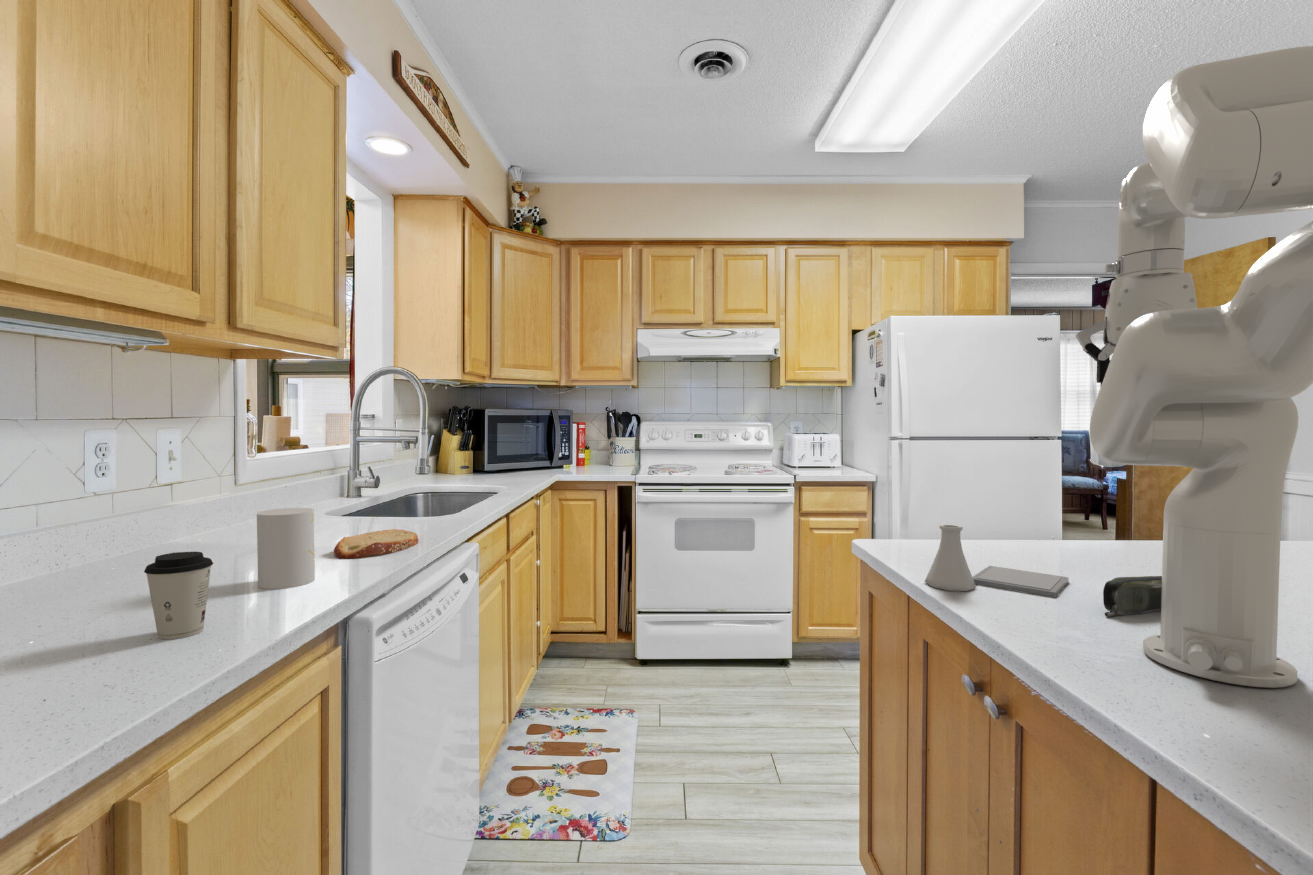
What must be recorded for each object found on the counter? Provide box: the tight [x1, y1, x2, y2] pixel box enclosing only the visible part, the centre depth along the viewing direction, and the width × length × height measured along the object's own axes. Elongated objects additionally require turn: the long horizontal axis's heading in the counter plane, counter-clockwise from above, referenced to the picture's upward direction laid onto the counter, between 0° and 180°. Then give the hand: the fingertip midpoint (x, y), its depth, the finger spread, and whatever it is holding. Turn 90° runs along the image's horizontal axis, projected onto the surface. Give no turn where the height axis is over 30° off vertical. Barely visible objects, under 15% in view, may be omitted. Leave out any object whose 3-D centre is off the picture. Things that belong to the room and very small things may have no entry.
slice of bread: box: [333, 528, 419, 560], centre depth 129 cm, size 18×18×4 cm
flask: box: [924, 523, 977, 592], centre depth 99 cm, size 7×7×10 cm
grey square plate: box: [972, 565, 1069, 598], centre depth 101 cm, size 12×12×1 cm
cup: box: [256, 507, 316, 590], centre depth 101 cm, size 8×8×12 cm
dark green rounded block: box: [1102, 575, 1162, 618], centre depth 87 cm, size 5×3×15 cm
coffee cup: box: [143, 551, 214, 640], centre depth 77 cm, size 7×7×10 cm
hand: (1146, 387), depth 88 cm, fingers open, 9 cm apart
